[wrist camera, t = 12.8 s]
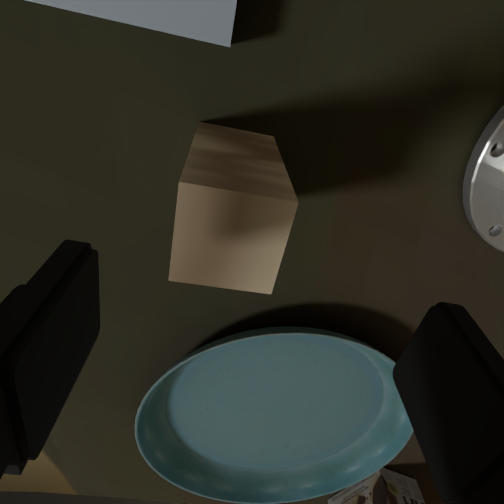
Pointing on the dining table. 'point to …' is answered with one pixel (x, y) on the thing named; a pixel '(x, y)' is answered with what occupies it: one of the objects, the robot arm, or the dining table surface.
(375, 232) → the dining table surface
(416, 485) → the coffee box
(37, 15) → the dining table surface
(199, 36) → the grey square-hole plate
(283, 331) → the blue plate
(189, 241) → the plug
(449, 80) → the dining table surface
